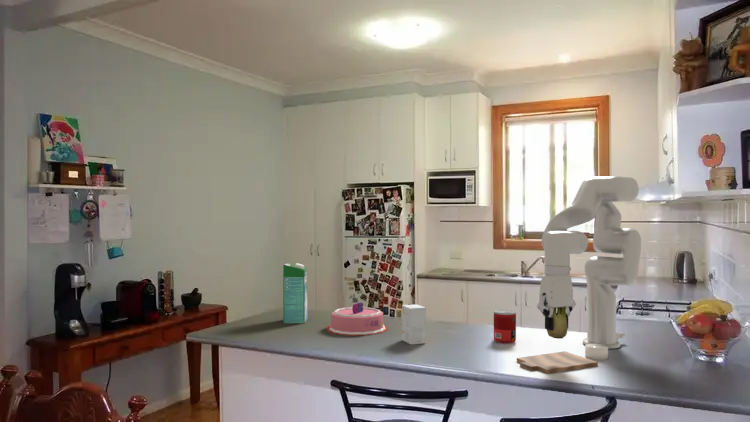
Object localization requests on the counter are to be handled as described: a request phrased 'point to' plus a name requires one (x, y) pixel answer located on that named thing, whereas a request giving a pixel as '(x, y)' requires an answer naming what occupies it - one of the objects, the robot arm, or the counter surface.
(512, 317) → the canned food
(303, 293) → the milk carton
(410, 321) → the small box
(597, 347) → the white rounded block
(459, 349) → the counter surface
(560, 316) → the fennel bulb
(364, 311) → the cake
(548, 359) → the board
